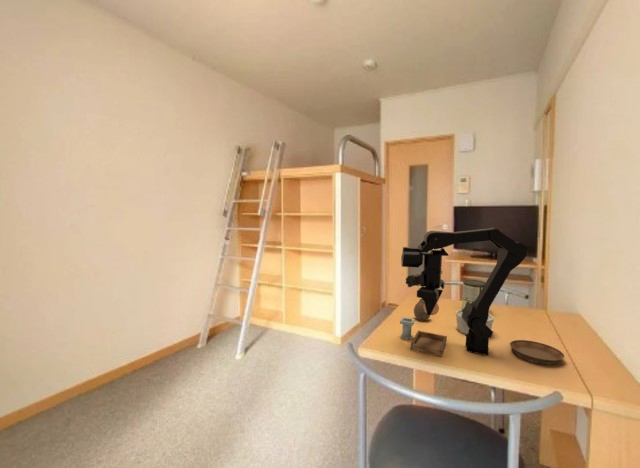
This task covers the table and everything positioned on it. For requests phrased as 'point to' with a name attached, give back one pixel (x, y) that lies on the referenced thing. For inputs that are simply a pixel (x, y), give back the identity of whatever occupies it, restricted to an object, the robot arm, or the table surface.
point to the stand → (406, 327)
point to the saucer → (536, 352)
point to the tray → (429, 343)
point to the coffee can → (471, 290)
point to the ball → (433, 309)
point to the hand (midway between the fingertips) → (430, 312)
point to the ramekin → (463, 326)
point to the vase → (420, 311)
